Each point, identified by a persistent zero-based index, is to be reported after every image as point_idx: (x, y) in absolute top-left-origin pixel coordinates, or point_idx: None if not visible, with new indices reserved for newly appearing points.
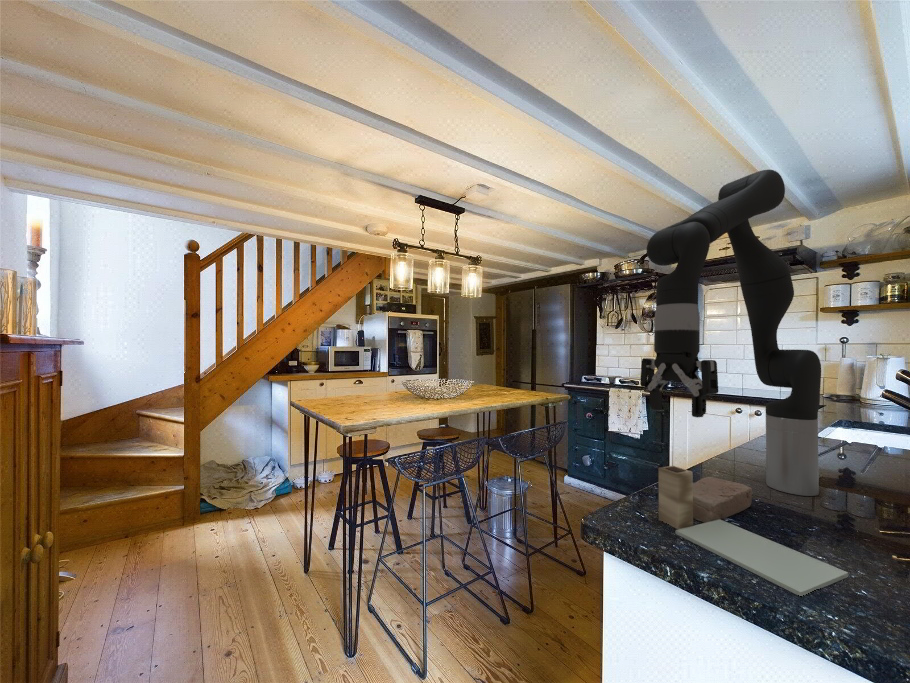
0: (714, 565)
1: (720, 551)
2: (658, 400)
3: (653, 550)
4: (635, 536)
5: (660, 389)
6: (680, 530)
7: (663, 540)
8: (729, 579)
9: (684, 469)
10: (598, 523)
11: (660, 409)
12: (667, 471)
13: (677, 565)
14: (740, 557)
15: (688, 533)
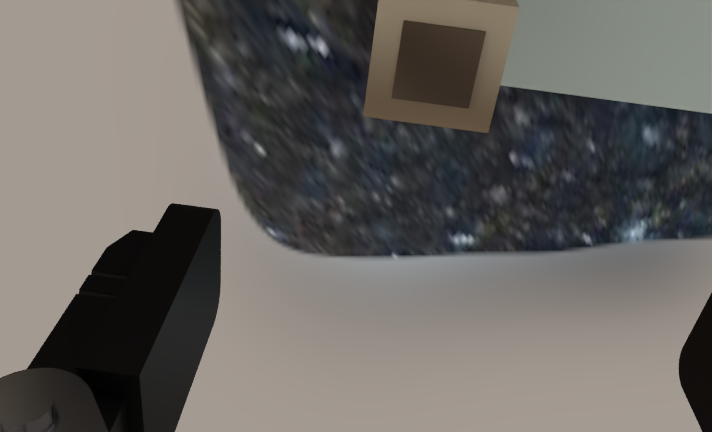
0: (644, 166)
1: (646, 98)
2: (188, 329)
3: (490, 233)
4: (411, 206)
5: (96, 403)
6: None
7: (477, 156)
8: (694, 200)
9: (465, 5)
10: (291, 230)
11: (218, 218)
12: (422, 122)
13: (571, 247)
14: (706, 82)
15: (522, 65)
